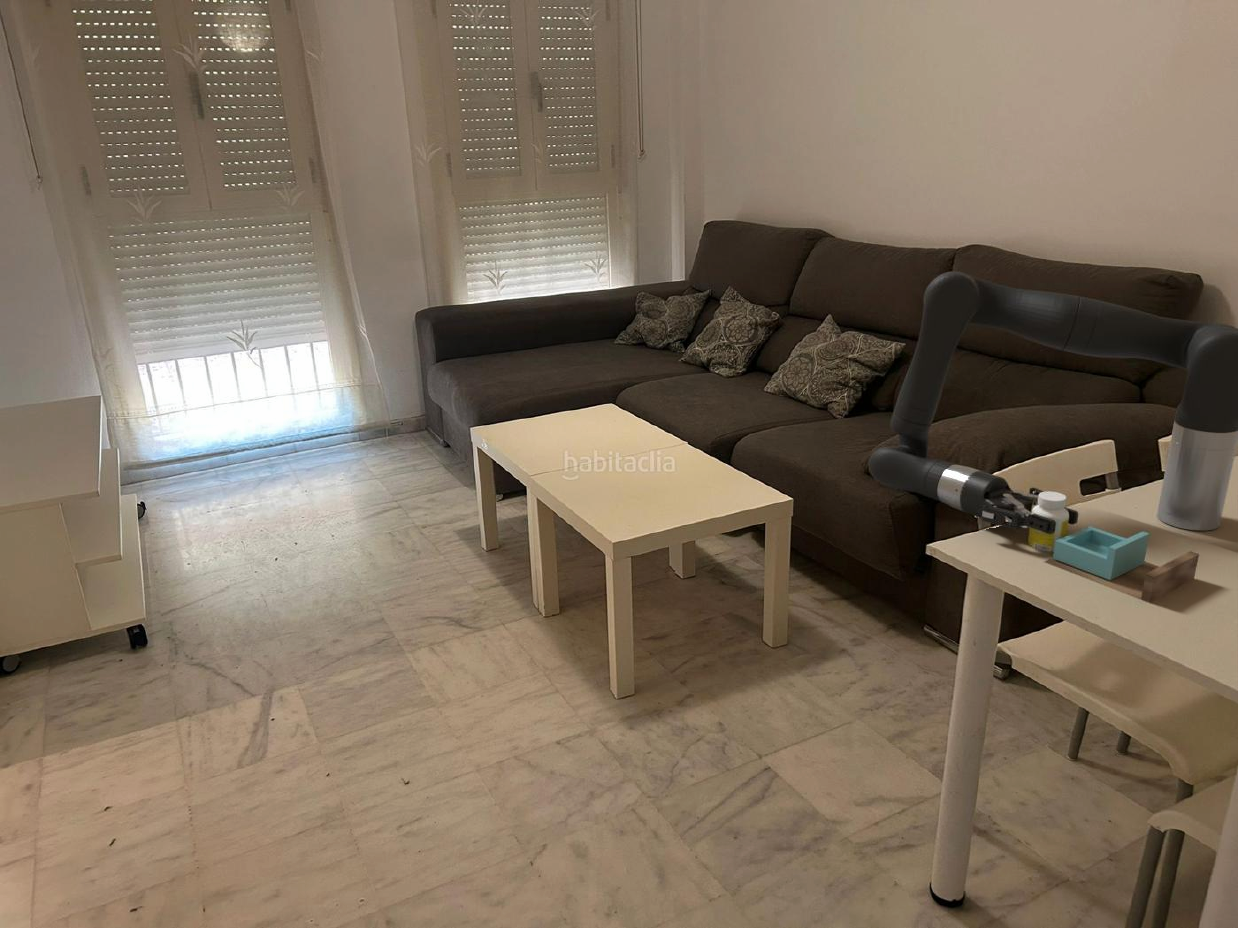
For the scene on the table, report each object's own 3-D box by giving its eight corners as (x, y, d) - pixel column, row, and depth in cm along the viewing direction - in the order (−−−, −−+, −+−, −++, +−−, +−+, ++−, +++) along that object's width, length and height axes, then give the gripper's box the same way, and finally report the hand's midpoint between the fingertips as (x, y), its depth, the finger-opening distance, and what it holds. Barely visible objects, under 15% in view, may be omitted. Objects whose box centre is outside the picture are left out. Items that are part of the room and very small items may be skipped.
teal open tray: (1086, 543, 142) (1091, 514, 140) (1143, 563, 135) (1149, 533, 133) (1053, 558, 137) (1057, 528, 136) (1110, 580, 130) (1115, 549, 129)
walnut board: (1087, 550, 144) (1092, 518, 142) (1192, 587, 131) (1199, 553, 129) (1042, 570, 138) (1047, 537, 136) (1147, 612, 125) (1154, 576, 123)
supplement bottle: (1053, 544, 146) (1061, 488, 143) (1070, 558, 141) (1079, 501, 138) (1020, 545, 146) (1028, 490, 143) (1036, 560, 141) (1044, 503, 137)
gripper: (947, 480, 148) (1040, 512, 134) (1001, 461, 155) (1095, 490, 142) (942, 521, 150) (1034, 557, 137) (996, 501, 158) (1088, 533, 144)
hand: (1065, 523), depth 139 cm, fingers closed on supplement bottle, 5 cm apart
